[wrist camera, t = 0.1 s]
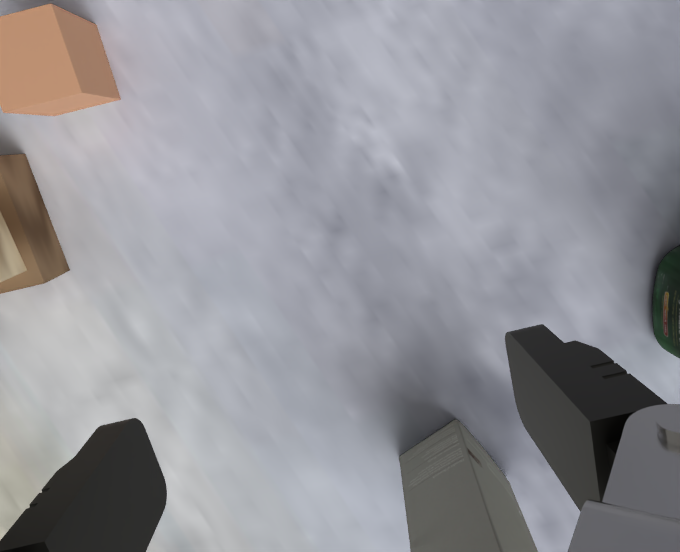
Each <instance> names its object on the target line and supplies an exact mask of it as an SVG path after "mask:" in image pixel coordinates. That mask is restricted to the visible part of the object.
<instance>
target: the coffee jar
mask: <svg viewBox="0 0 680 552" xmlns="http://www.w3.org/2000/svg"><path fill="white" fill-rule="evenodd" d="M653 328H654V334H655V337H656V339H657V341H658V343H659V344H660V345H661V346H662V347H663V348H664V349H665V350H666V351H668V352H670V353H671V354H673V355H675V356H676V357H678V358H680V246H678V247H676V248H675V249H673V250H672V251H670V252H669V253H668V254H667V255H666V256H665V257H664V258H663V260H662V261H661V263H660V265H659V267H658V270H657V275H656V280H655V285H654V294H653Z"/></svg>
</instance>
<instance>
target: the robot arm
mask: <svg viewBox="0 0 680 552" xmlns="http://www.w3.org/2000/svg"><path fill="white" fill-rule="evenodd" d="M505 343H506V349H507V355H508V361H509V367H510V373H511V379H512V384H513V390H514V396H515V401H516V405H517V409H518V412H519V415H520V418H521V420H522V423H523V425H524V427H525V429H526V430H527V432H528V433H529V435H530V436H531V438H532V439H533V441H534V442H535V444H536V445H537V447H538V448H539V450H540V451H541V453H542V454H543V456H544V457H545V459H546V460H547V462H548V463H549V465H550V466H551V468H552V469H553V471H554V472H555V474H556V475H557V477H558V478H559V480H560V481H561V483H562V485H563V486H564V488H565V489H566V491H567V492H568V494H569V495H570V497H571V498H572V500H573V501H574V503H575V504H576V506H577V507H578V509H579V510H580V512H581V513H580V516H579V519H578V522H577V525H576V528H575V531H574V534H573V537H572V540H571V543H570V546H569V549H568V552H680V404H667V403H666V402H665V401H663V400H662V399H661V398H660V397H658V396H657V395H656V394H655V393H653V392H652V391H651V390H650V389H648V388H647V387H646V386H645V385H643V384H642V383H641V382H640V381H638V380H637V379H636V378H635V377H633V376H632V375H631V374H627V372H626V370H625V369H623V368H622V367H621V366H620V365H618V364H617V363H614V361H613V360H612V359H611V358H610V357H608V356H607V355H606V354H605V353H603V352H602V351H601V350H600V349H598V348H595V347H592V346H589V345H587V344H584V343H581V342H578V341H571V342H567V343H564V342H562V341H561V340H560V339H559V338H558V337H557V336H556V335H555V334H553V333H552V332H551V331H550V330H549V329H548V328H547V327H546V326H544V325H542V324H541V325H536V326H532V327H528V328H523V329H519V330H515V331H510V332H507V333H506V335H505ZM166 499H167V490H166V483H165V479H164V476H163V473H162V471H161V468H160V466H159V463H158V461H157V458H156V456H155V453H154V450H153V448H152V445H151V443H150V440H149V438H148V435H147V433H146V430H145V428H144V426H143V424H142V423H141V421H140V420H138V419H136V418H132V419H128V420H124V421H120V422H115V423H111V424H107V425H102V426H100V427H98V428H97V429H96V431H95V432H94V433H93V434H92V436H91V437H90V438H89V439H88V441H87V442H86V443H85V445H84V446H83V447H82V448H81V450H80V451H79V452H78V453H77V455H76V456H75V457H74V458H73V459H72V460H70V461H69V462H68V463H67V464H65V465H64V466H63V467H62V468H60V469H59V470H58V471H57V472H56V473H55V474H54V475H53V477H52V478H51V479H50V480H49V482H48V483H47V484H46V485H45V486H44V488H43V489H42V493H39V494H38V495H37V496H36V498H35V499H34V500H33V501H32V502H31V504H30V508H28V509H26V510H25V511H24V512H23V514H22V515H21V516H20V517H19V518H18V520H17V521H16V522H15V523H14V525H13V526H12V527H11V528H10V530H9V531H8V532H7V533H6V534H5V536H4V537H3V538H2V539H1V541H0V552H146V550H147V547H148V545H149V543H150V541H151V538H152V536H153V534H154V532H155V529H156V527H157V525H158V523H159V520H160V518H161V516H162V514H163V511H164V509H165V505H166Z"/></svg>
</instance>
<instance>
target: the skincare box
mask: <svg viewBox="0 0 680 552" xmlns="http://www.w3.org/2000/svg"><path fill="white" fill-rule="evenodd" d="M399 460H400V467H401V475H402V484H403V492H404V500H405V508H406V516H407V524H408V532H409V540H410V549H411V552H538V551H537V548H536V546H535V543H534V541H533V539H532V536H531V534H530V531H529V529H528V527H527V524H526V522H525V519H524V517H523V515H522V512H521V510H520V507H519V505H518V503H517V500H516V498H515V495H514V493H513V491H512V488H511V485H510V483H509V481H508V480H507V478H506V477H505V476H504V474H503V473H502V472H501V470H500V469H499V468H498V466H497V465H496V464H495V463H494V461H493V460H492V459H491V457H490V456H489V455H488V454H487V452H486V451H485V450H484V449H483V447H482V446H481V445H480V444H479V443H478V441H477V440H476V439H475V438H474V437H473V436H472V435H471V433H470V432H469V431H468V430H467V429H466V428H465V427H464V426H463V425H462V424H461V423H460V421H458V420H453V421H452V422H450V423H449V424H447V425H446V426H445V427H443V428H442V429H440V430H439V431H437V432H436V433H434V434H433V435H431V436H430V437H428V438H426V439H425V440H423V441H422V442H420V443H419V444H417V445H415V446H414V447H413V448H411V449H410V450H408V451H407V452H405V453H404V454H402V455H401V456H400V457H399Z"/></svg>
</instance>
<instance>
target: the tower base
mask: <svg viewBox="0 0 680 552" xmlns="http://www.w3.org/2000/svg"><path fill="white" fill-rule="evenodd" d="M0 212H1V214H2V216H3V218H4V221H5V223H6V225H7V227H8V229H9V232H10V234H11V236H12V238H13V240H14V242H15V245H16V247H17V249H18V251H19V253H20V256H21V258H22V260H23V262H24V264H25V267H26V269H27V271H25V272H22V273H20V274H18V275H16V276H13V277H11V278H9V279H7V280H4V281H2V282H0V294H1V293H5V292H9V291H13V290H18V289H22V288H26V287H31V286H35V285H39V284H43V283H46V282H48V281H50V280H52V279H54V278H56V277H58V276H60V275H62V274H64V273H65V272H67V271H69V270H70V269H69V267H68V264H67V262H66V259H65V256H64V254H63V251H62V248H61V246H60V243H59V241H58V238H57V235H56V233H55V230H54V228H53V225H52V222H51V220H50V217H49V215H48V212H47V209H46V207H45V204H44V202H43V199H42V196H41V194H40V191H39V188H38V186H37V183H36V181H35V178H34V175H33V173H32V170H31V168H30V165H29V162H28V160H27V157H26V155H25V154H16V155H0Z"/></svg>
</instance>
